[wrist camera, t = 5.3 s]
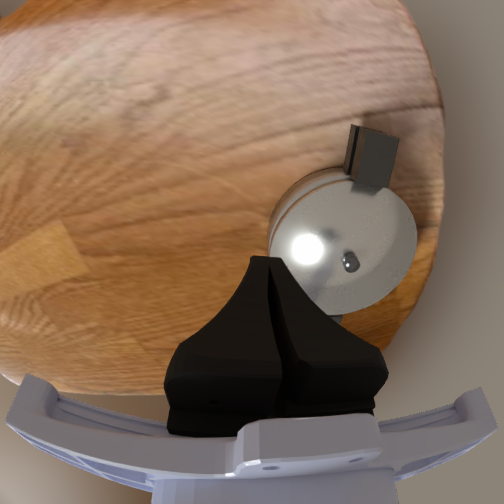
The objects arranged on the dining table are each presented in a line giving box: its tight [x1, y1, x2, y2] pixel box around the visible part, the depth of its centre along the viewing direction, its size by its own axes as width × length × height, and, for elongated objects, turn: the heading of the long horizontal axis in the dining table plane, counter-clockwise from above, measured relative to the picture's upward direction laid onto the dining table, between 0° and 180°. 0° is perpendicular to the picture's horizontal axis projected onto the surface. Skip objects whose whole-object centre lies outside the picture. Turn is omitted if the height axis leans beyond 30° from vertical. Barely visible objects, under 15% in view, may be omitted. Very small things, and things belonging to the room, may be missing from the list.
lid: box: [269, 127, 417, 315], centre depth 19 cm, size 16×12×2 cm
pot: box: [267, 124, 391, 325], centre depth 21 cm, size 17×12×3 cm
